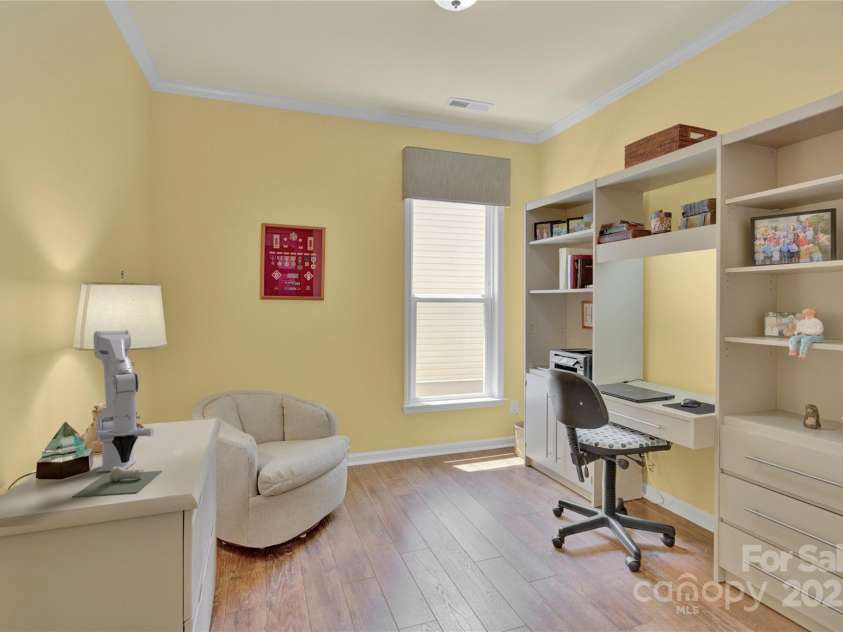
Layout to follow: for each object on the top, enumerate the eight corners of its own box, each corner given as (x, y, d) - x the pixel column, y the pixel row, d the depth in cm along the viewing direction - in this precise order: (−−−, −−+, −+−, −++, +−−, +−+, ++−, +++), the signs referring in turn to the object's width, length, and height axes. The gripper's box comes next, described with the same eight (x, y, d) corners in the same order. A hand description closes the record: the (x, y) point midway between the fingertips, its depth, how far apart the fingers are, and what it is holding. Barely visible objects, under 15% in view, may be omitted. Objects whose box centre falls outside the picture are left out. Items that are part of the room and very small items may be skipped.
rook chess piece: (113, 481, 139) (143, 480, 141) (107, 483, 135) (138, 483, 137) (116, 465, 140) (146, 465, 142) (110, 466, 136) (141, 467, 138)
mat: (105, 475, 145) (105, 474, 145) (161, 471, 147) (161, 470, 147) (72, 497, 127) (72, 496, 127) (137, 493, 130) (137, 492, 130)
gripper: (90, 419, 133) (90, 467, 133) (146, 416, 135) (146, 464, 135) (102, 414, 140) (103, 459, 140) (155, 411, 142) (156, 457, 142)
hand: (125, 461), depth 138 cm, fingers closed
